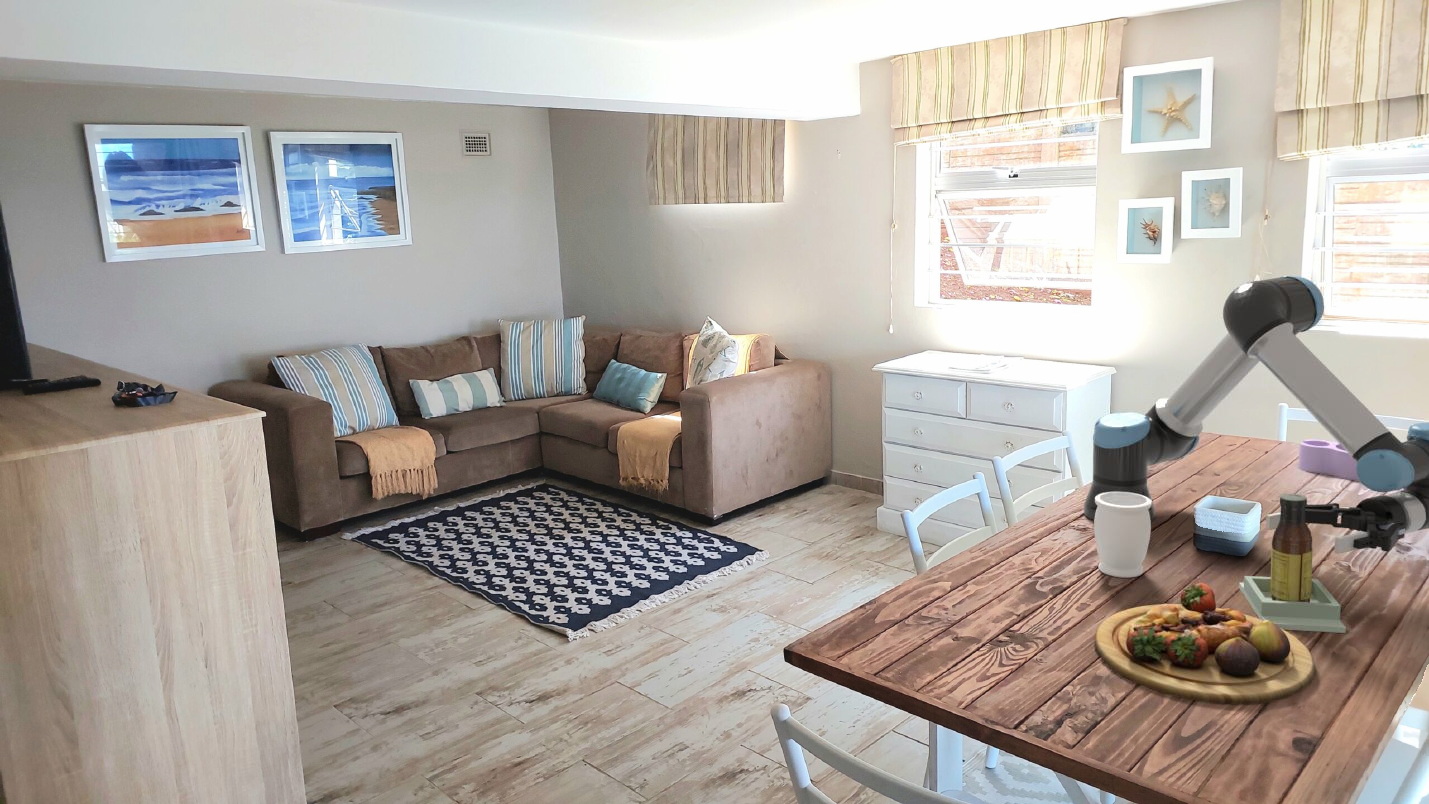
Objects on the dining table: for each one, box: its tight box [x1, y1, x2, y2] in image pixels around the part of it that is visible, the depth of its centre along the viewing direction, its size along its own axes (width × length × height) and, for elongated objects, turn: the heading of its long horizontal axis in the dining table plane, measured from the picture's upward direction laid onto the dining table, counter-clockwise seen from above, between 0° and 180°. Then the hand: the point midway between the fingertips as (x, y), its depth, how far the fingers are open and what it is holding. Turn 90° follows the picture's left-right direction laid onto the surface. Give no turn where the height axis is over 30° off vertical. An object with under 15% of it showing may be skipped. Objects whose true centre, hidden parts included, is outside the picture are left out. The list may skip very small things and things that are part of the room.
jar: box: [1093, 492, 1153, 579], centre depth 191 cm, size 11×10×15 cm
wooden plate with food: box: [1093, 582, 1316, 705], centre depth 156 cm, size 32×32×8 cm
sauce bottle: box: [1270, 493, 1314, 602], centre depth 169 cm, size 6×6×20 cm
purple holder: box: [1297, 439, 1360, 481], centre depth 247 cm, size 20×12×7 cm, turn 47°
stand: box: [1238, 575, 1347, 634], centre depth 171 cm, size 12×18×4 cm, turn 165°
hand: (1300, 533), depth 170 cm, fingers open, 13 cm apart
